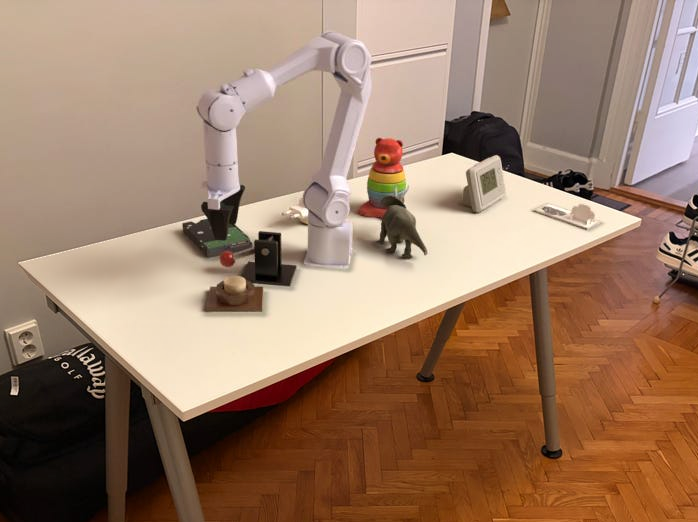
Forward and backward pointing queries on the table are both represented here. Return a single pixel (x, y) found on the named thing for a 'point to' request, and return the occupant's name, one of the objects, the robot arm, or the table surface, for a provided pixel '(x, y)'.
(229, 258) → the lever
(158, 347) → the table surface
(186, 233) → the disk drive
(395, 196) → the toy dinosaur
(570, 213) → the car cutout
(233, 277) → the button
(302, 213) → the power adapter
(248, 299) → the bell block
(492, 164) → the digital clock
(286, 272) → the switch bracket
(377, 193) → the stacking bear
